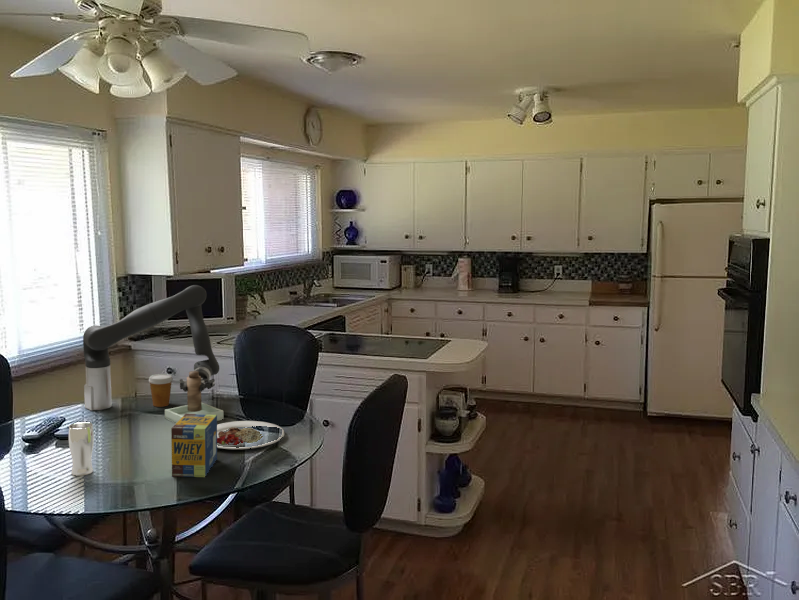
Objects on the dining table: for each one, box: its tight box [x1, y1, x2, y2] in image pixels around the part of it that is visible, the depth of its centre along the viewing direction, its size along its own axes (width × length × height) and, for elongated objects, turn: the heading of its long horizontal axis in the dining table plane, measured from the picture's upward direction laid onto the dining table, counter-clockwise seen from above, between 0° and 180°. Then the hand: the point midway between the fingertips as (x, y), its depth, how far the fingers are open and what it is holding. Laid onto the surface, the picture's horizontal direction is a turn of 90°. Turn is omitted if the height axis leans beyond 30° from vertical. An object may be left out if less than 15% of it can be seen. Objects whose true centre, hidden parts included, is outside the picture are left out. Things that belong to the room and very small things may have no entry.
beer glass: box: [68, 421, 95, 477], centre depth 209 cm, size 7×7×15 cm
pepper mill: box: [186, 370, 202, 412], centre depth 264 cm, size 5×5×15 cm
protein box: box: [170, 414, 218, 478], centre depth 215 cm, size 10×15×16 cm
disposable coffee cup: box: [148, 373, 174, 408], centre depth 282 cm, size 10×10×12 cm
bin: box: [164, 401, 224, 424], centre depth 265 cm, size 16×16×4 cm
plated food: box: [217, 420, 285, 450], centre depth 245 cm, size 30×30×3 cm
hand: (193, 389), depth 261 cm, fingers closed on pepper mill, 5 cm apart
